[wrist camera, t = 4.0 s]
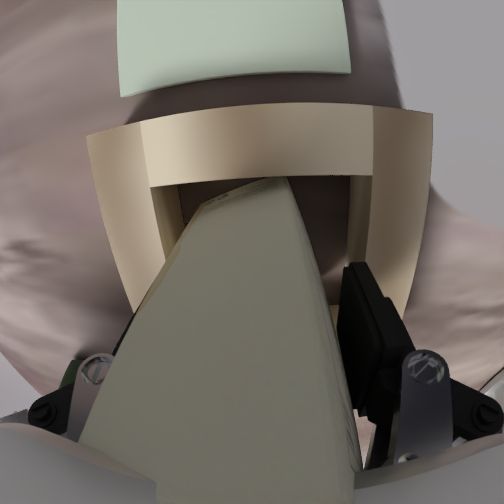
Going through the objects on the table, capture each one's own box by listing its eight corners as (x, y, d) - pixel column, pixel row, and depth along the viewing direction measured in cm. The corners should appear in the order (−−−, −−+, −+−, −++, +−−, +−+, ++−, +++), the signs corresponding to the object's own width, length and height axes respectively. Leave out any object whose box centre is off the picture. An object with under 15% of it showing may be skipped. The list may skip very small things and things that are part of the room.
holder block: (399, 111, 10) (432, 113, 8) (372, 331, 16) (384, 367, 14) (121, 128, 11) (86, 136, 9) (172, 336, 17) (159, 371, 15)
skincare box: (199, 202, 13) (41, 465, 2) (288, 168, 12) (354, 513, 1) (249, 303, 16) (220, 534, 5) (326, 280, 15) (371, 526, 4)
